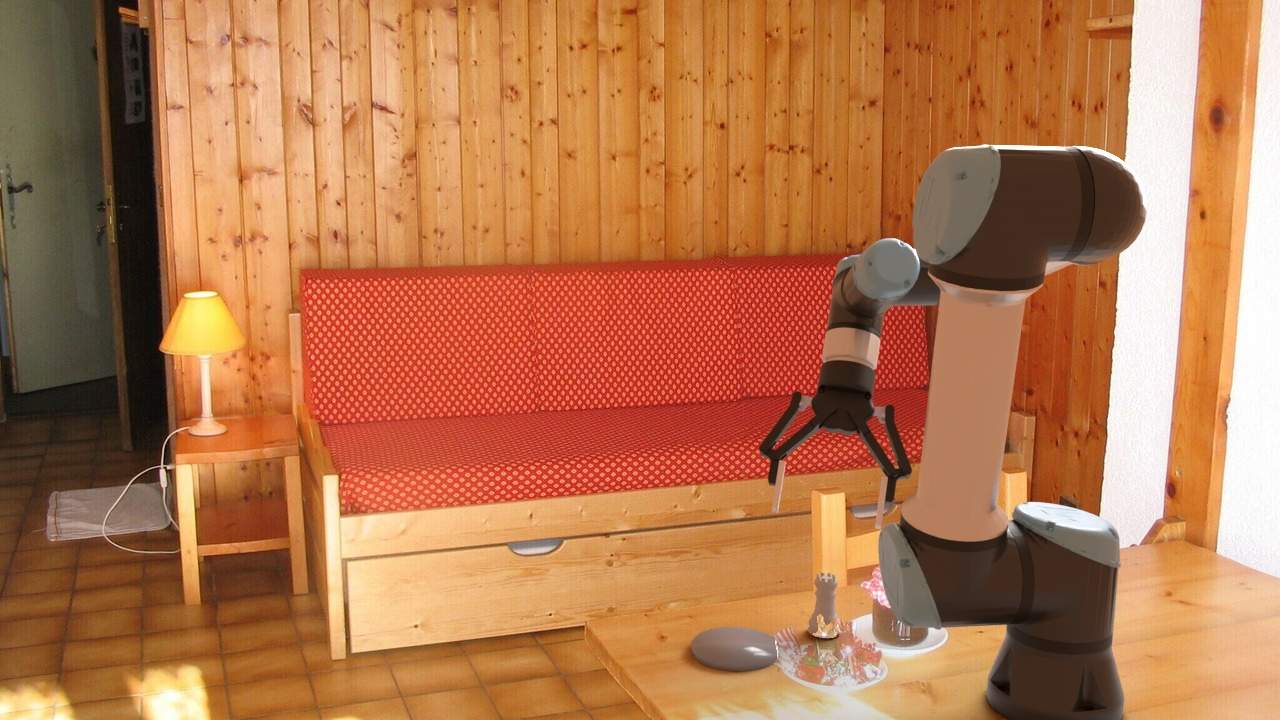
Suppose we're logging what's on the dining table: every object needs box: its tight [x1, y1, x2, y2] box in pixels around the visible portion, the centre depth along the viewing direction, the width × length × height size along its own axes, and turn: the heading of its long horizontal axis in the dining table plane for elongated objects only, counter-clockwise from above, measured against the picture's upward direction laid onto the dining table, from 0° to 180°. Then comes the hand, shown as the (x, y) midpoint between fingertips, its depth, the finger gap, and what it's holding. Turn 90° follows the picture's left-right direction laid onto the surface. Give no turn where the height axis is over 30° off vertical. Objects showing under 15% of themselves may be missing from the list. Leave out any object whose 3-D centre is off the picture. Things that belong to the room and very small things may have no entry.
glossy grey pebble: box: [691, 626, 778, 672], centre depth 161 cm, size 11×11×1 cm
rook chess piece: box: [807, 572, 842, 635], centre depth 167 cm, size 4×4×8 cm
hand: (826, 518), depth 168 cm, fingers open, 13 cm apart
